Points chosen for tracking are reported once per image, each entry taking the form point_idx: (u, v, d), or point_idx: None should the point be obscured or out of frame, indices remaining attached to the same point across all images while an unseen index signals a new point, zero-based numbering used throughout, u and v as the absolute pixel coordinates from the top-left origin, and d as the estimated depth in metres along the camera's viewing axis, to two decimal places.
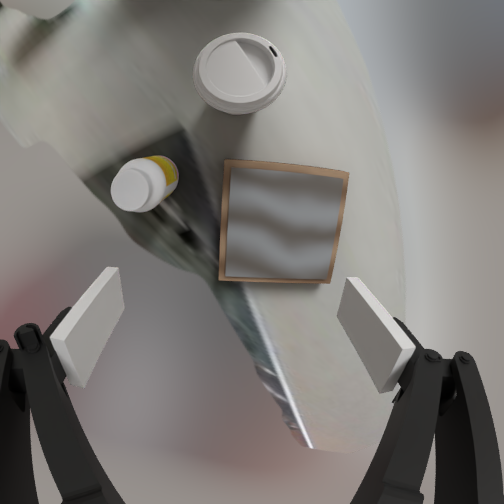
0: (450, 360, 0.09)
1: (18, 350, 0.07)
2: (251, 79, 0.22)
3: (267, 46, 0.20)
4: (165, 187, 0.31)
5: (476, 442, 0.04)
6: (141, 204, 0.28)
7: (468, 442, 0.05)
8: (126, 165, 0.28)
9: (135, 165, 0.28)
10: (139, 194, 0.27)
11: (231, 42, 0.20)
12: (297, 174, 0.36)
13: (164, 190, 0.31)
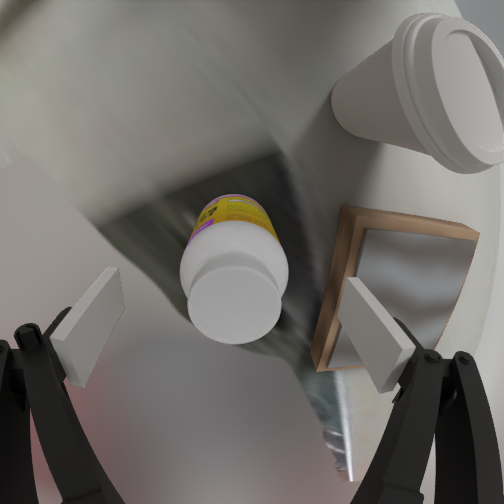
0: (450, 360, 0.09)
1: (18, 350, 0.07)
2: (493, 120, 0.08)
3: None
4: None
5: (476, 442, 0.04)
6: (261, 334, 0.14)
7: (467, 442, 0.05)
8: (209, 238, 0.15)
9: (234, 243, 0.15)
10: (259, 317, 0.13)
11: (465, 36, 0.06)
12: (439, 239, 0.22)
13: None
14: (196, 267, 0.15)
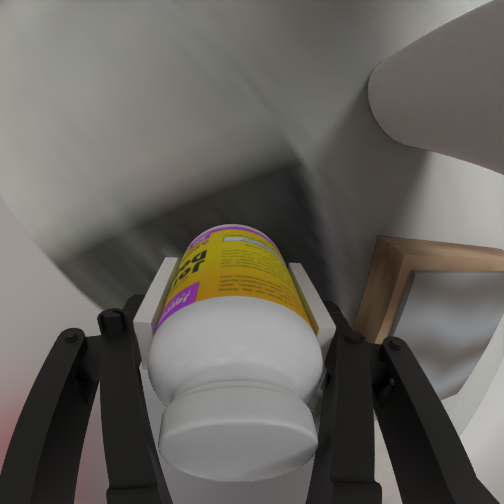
0: (379, 347, 0.10)
1: (92, 337, 0.09)
2: None
3: None
4: None
5: (429, 434, 0.05)
6: (280, 473, 0.07)
7: (419, 434, 0.06)
8: (190, 335, 0.08)
9: (234, 345, 0.08)
10: (279, 463, 0.06)
11: None
12: (487, 275, 0.16)
13: None
14: (170, 377, 0.08)
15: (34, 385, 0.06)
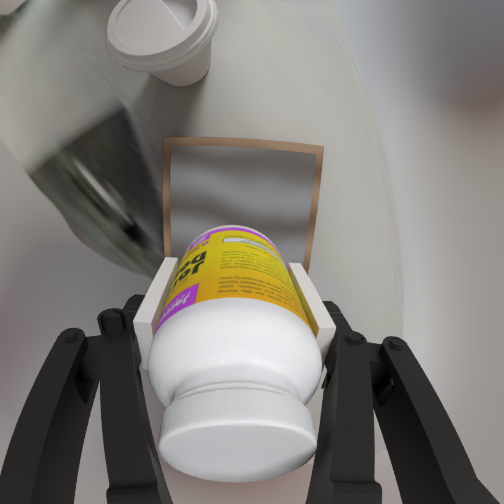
0: (379, 347, 0.10)
1: (92, 337, 0.09)
2: (167, 26, 0.14)
3: None
4: None
5: (430, 434, 0.05)
6: (279, 474, 0.07)
7: (419, 434, 0.06)
8: (189, 337, 0.08)
9: (233, 347, 0.08)
10: (278, 464, 0.06)
11: None
12: (254, 149, 0.28)
13: None
14: (170, 378, 0.08)
15: (34, 385, 0.06)
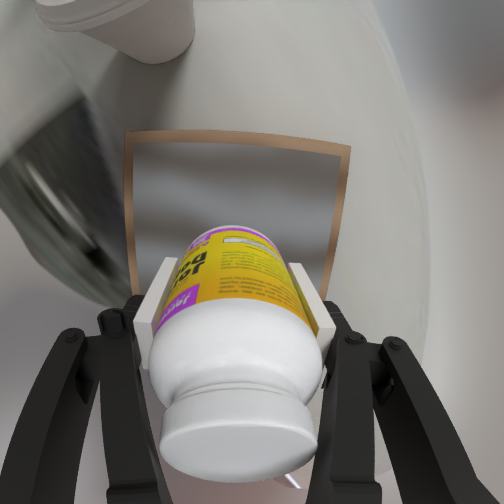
0: (379, 347, 0.10)
1: (92, 337, 0.09)
2: None
3: None
4: None
5: (429, 434, 0.05)
6: (280, 474, 0.07)
7: (419, 434, 0.06)
8: (190, 337, 0.08)
9: (234, 347, 0.08)
10: (279, 464, 0.06)
11: None
12: (252, 148, 0.19)
13: None
14: (170, 379, 0.08)
15: (34, 385, 0.06)
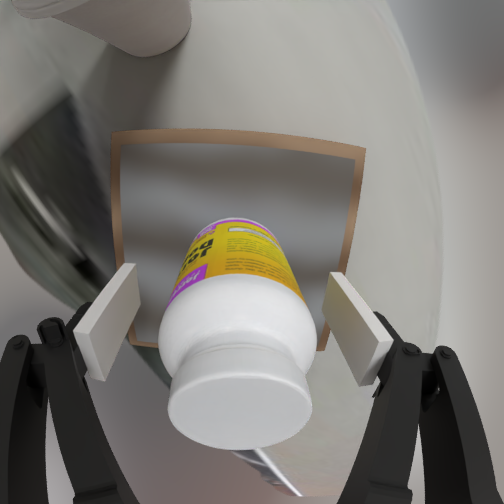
0: (430, 355, 0.09)
1: (38, 345, 0.08)
2: None
3: None
4: None
5: (463, 438, 0.05)
6: (277, 441, 0.08)
7: (454, 439, 0.05)
8: (199, 306, 0.09)
9: (238, 315, 0.09)
10: (276, 427, 0.08)
11: None
12: (255, 149, 0.17)
13: None
14: (180, 346, 0.09)
15: None
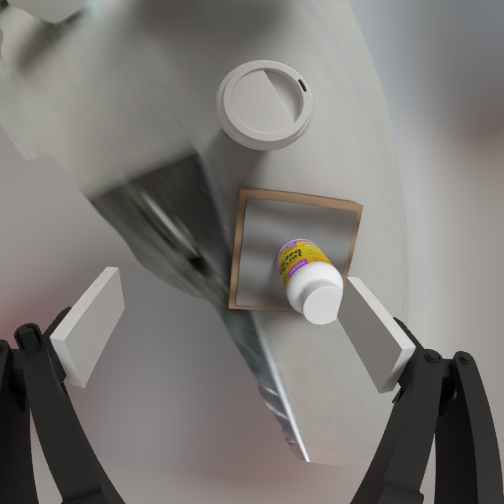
0: (450, 360, 0.09)
1: (18, 350, 0.07)
2: (278, 115, 0.22)
3: (296, 79, 0.21)
4: None
5: (476, 442, 0.04)
6: (333, 319, 0.28)
7: (467, 442, 0.05)
8: (310, 271, 0.29)
9: (322, 274, 0.29)
10: (334, 310, 0.27)
11: (258, 71, 0.21)
12: (312, 207, 0.37)
13: None
14: (302, 285, 0.29)
15: None
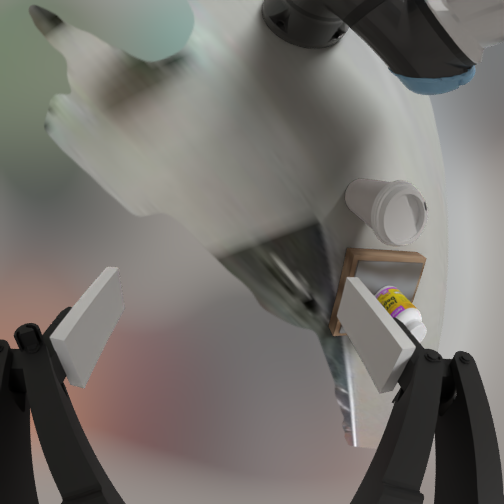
0: (450, 360, 0.09)
1: (18, 350, 0.07)
2: (410, 227, 0.33)
3: (423, 202, 0.31)
4: None
5: (476, 442, 0.04)
6: None
7: (468, 442, 0.05)
8: (407, 315, 0.40)
9: (413, 316, 0.39)
10: (420, 338, 0.38)
11: (404, 196, 0.31)
12: (398, 263, 0.47)
13: None
14: None
15: None
